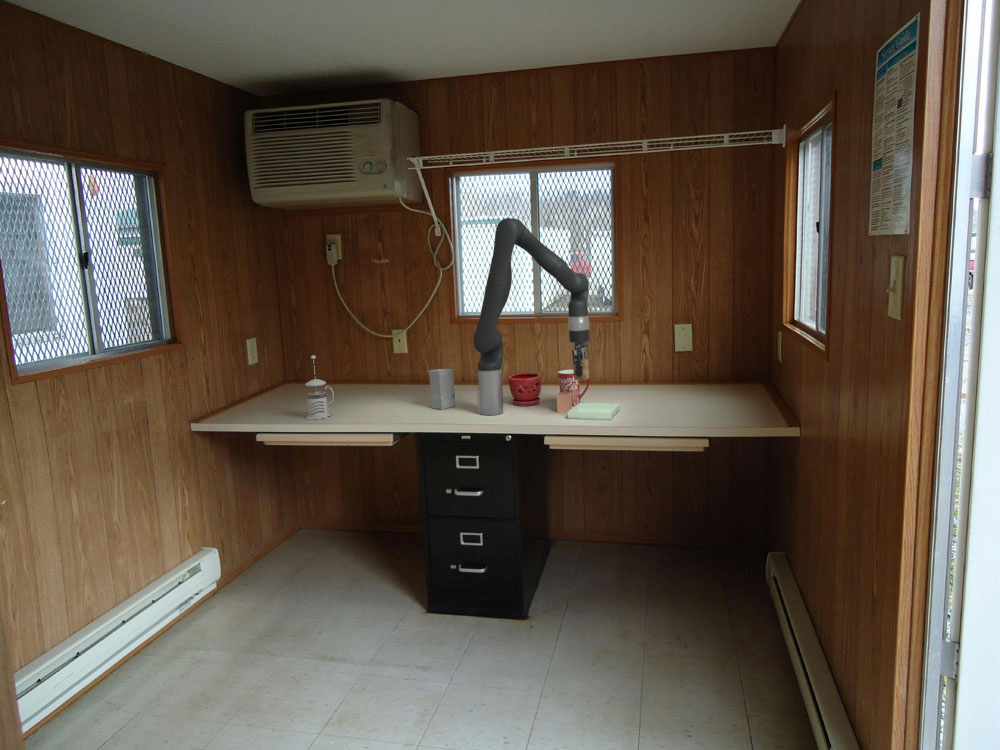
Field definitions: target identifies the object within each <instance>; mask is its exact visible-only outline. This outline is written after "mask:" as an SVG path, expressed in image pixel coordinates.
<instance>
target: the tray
mask: <svg viewBox="0 0 1000 750" xmlns="http://www.w3.org/2000/svg"><path fill="white" fill-rule="evenodd" d="M619 412H620V403H595V402H594V403H591V402H579V403H578V404H576V405H575V406H572V409H570V410H569V411H568V413H567V419H568V420H590V421H592V420H593V421H594V420H595V421H612V420H613V419H614V418H615V416H617V414H618V413H619Z"/></svg>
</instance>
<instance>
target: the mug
mask: <svg viewBox="0 0 1000 750" xmlns="http://www.w3.org/2000/svg"><path fill="white" fill-rule="evenodd" d="M557 375H558V385H559V393H560V392H563V393H571V399H572V407H574V406H575V405H576V404H578V403H580V400H581V399H582V398H583V396H584V395H585V394H586V393H587V390H588V389H589V387H590V382H591V381H590V377H589V378H588V379H587V383H586V384H587V385H586V386H585V388H584V390H583V391H582V393H581V394H580V383H581V381H582V380H574V369H565V370H564V369H563V370H558V371H557Z"/></svg>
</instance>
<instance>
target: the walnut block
mask: <svg viewBox="0 0 1000 750" xmlns="http://www.w3.org/2000/svg"><path fill="white" fill-rule="evenodd" d="M577 362H579V361H578V360H577ZM572 365H573V366H572V367H573V370H574V380H581V381H586V380H587V379H588V378H589V379H590V371H589V358H587V359H583V360H582V371H583V375H582V376H577V375H576V366H575V365H574V364H573V363H572ZM587 381H588V380H587Z"/></svg>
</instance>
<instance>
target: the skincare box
mask: <svg viewBox="0 0 1000 750" xmlns="http://www.w3.org/2000/svg"><path fill="white" fill-rule="evenodd" d="M428 373H429V374H428V375H429V388H430V389H429V390H430V405H431V409H436V410H441V409H443V410H445V409H446V408H447V409H450V408H453V407H456V393H455V379H454V378H455V377H454V369H453V368H439V369H438V368H437V369H431V370H428Z"/></svg>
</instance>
